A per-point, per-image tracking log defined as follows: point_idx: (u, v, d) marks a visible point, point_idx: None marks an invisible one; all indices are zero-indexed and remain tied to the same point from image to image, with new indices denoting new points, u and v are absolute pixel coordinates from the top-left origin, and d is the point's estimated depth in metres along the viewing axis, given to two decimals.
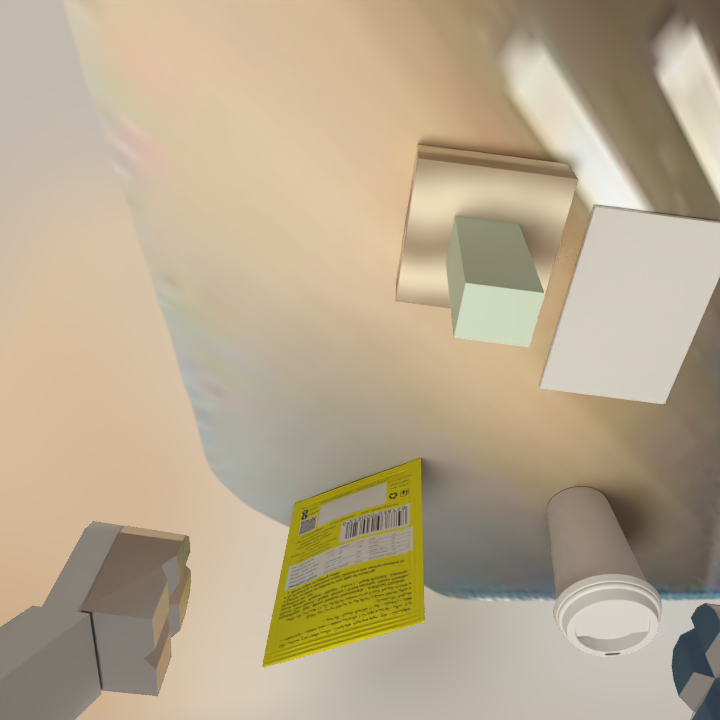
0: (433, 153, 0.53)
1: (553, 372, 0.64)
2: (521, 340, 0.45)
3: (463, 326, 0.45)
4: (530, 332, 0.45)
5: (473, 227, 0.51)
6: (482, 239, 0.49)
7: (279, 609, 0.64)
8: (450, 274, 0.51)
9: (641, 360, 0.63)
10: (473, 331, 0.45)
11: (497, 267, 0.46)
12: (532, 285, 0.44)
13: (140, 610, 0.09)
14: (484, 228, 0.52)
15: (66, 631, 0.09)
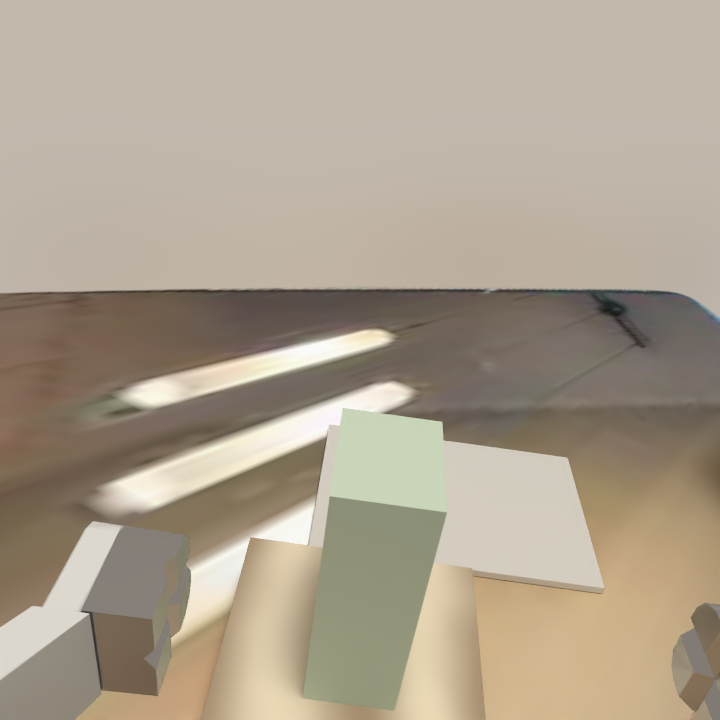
0: None
1: (570, 572, 0.42)
2: (432, 430, 0.27)
3: (420, 499, 0.24)
4: (414, 420, 0.27)
5: None
6: None
7: None
8: (386, 648, 0.27)
9: (515, 483, 0.48)
10: (427, 485, 0.24)
11: None
12: None
13: (140, 610, 0.09)
14: None
15: (66, 631, 0.09)
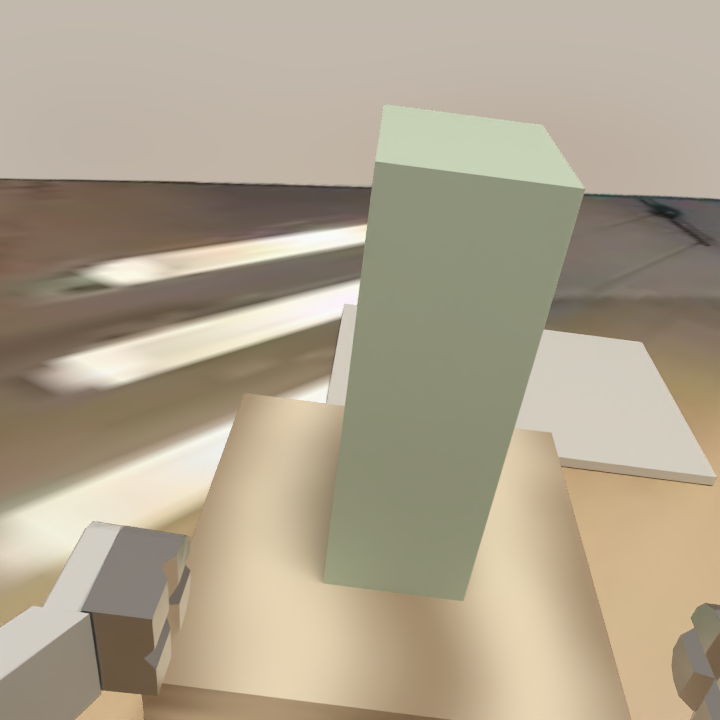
0: None
1: (668, 460, 0.32)
2: (530, 129, 0.17)
3: (534, 175, 0.13)
4: (499, 120, 0.17)
5: None
6: None
7: None
8: (458, 487, 0.17)
9: (581, 365, 0.38)
10: (541, 166, 0.14)
11: None
12: None
13: (140, 610, 0.09)
14: None
15: (66, 631, 0.09)
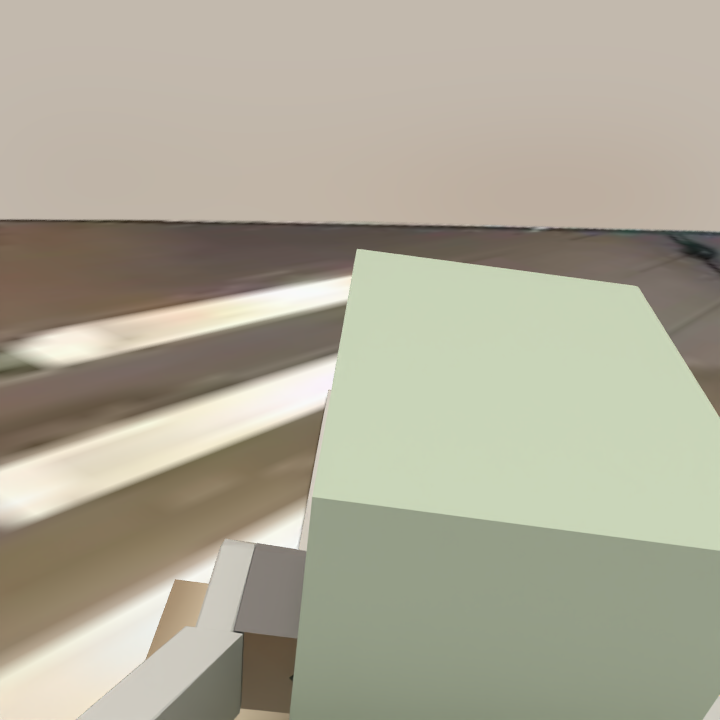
0: None
1: None
2: (621, 303, 0.09)
3: (680, 507, 0.06)
4: (562, 281, 0.10)
5: None
6: None
7: None
8: None
9: None
10: (681, 456, 0.06)
11: None
12: None
13: (291, 630, 0.09)
14: None
15: (223, 651, 0.09)
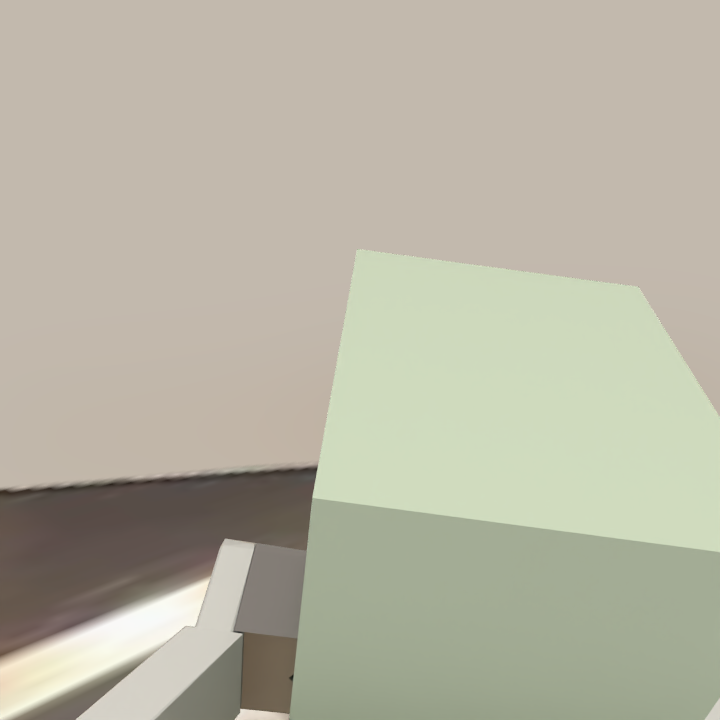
0: None
1: None
2: (621, 303, 0.09)
3: (680, 508, 0.06)
4: (563, 281, 0.10)
5: None
6: None
7: None
8: None
9: None
10: (683, 457, 0.06)
11: None
12: None
13: (291, 630, 0.09)
14: None
15: (223, 652, 0.09)
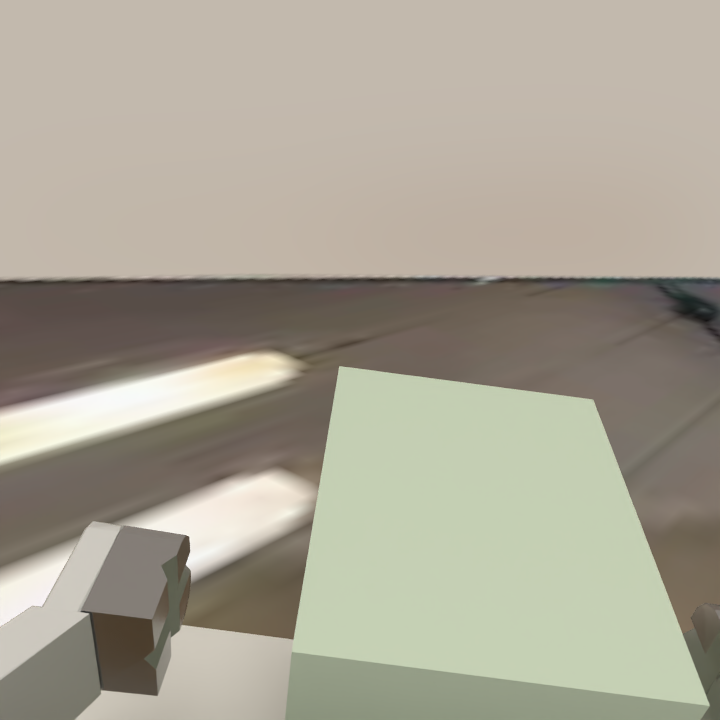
0: None
1: None
2: (576, 420, 0.10)
3: (604, 650, 0.07)
4: (524, 396, 0.11)
5: None
6: None
7: None
8: None
9: None
10: (612, 595, 0.07)
11: None
12: None
13: (140, 610, 0.09)
14: None
15: (66, 631, 0.09)
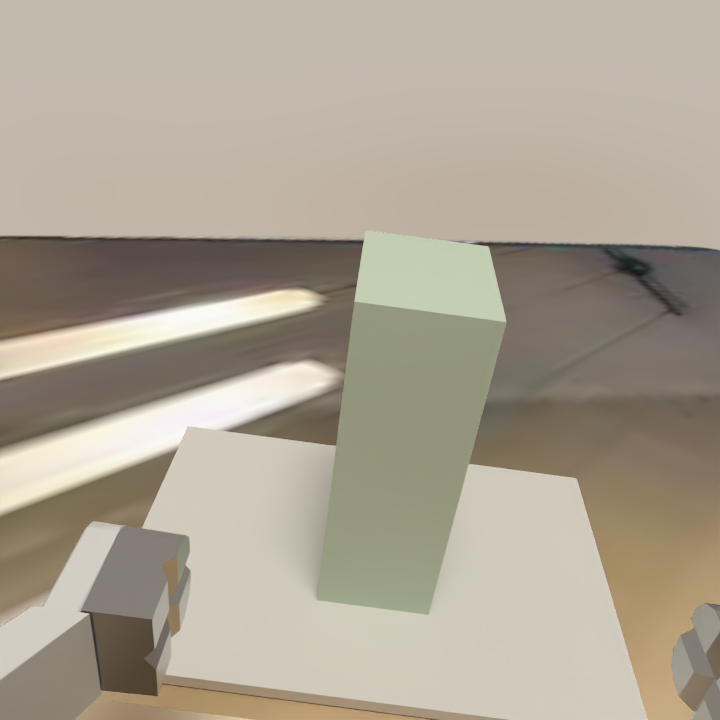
0: None
1: (586, 705, 0.22)
2: (478, 252, 0.22)
3: (471, 309, 0.18)
4: (455, 244, 0.22)
5: None
6: None
7: None
8: (421, 528, 0.22)
9: (488, 524, 0.28)
10: (478, 298, 0.19)
11: None
12: None
13: (140, 610, 0.09)
14: None
15: (66, 631, 0.09)
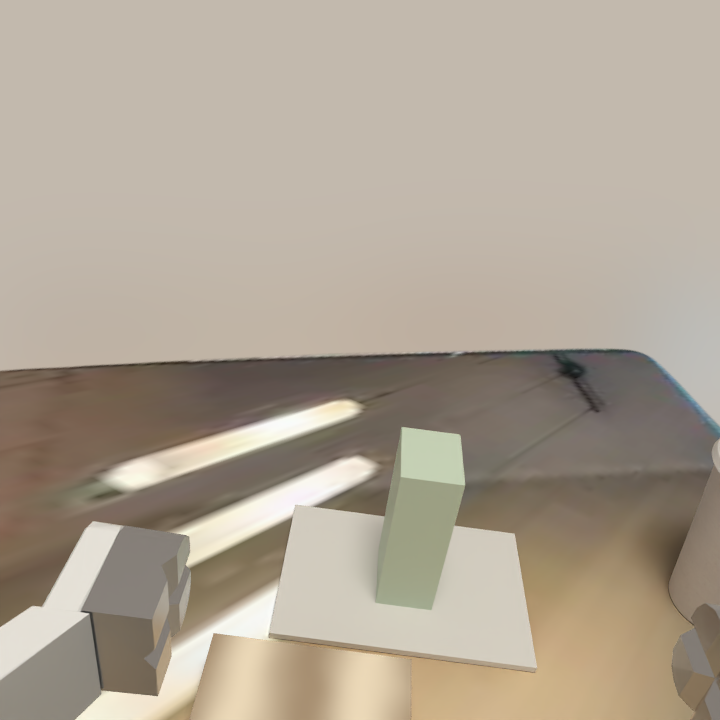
0: None
1: (506, 653, 0.46)
2: (455, 439, 0.46)
3: (450, 478, 0.43)
4: (444, 434, 0.46)
5: (380, 569, 0.49)
6: (384, 541, 0.48)
7: None
8: (428, 568, 0.46)
9: (463, 561, 0.53)
10: (453, 471, 0.43)
11: (394, 486, 0.46)
12: (399, 443, 0.46)
13: (140, 610, 0.09)
14: (380, 561, 0.49)
15: (66, 631, 0.09)
